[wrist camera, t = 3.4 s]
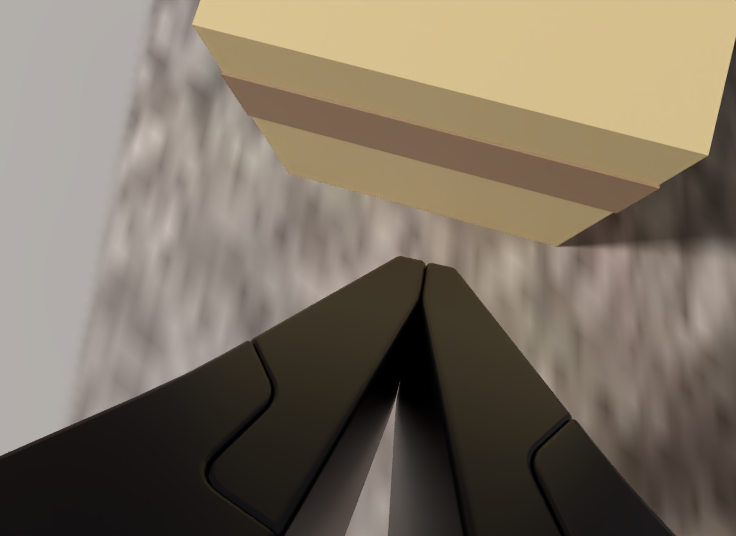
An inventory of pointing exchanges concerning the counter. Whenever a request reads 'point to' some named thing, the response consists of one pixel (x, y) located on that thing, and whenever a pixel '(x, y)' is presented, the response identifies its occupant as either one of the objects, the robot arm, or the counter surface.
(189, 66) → the counter surface
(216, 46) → the oat carton
